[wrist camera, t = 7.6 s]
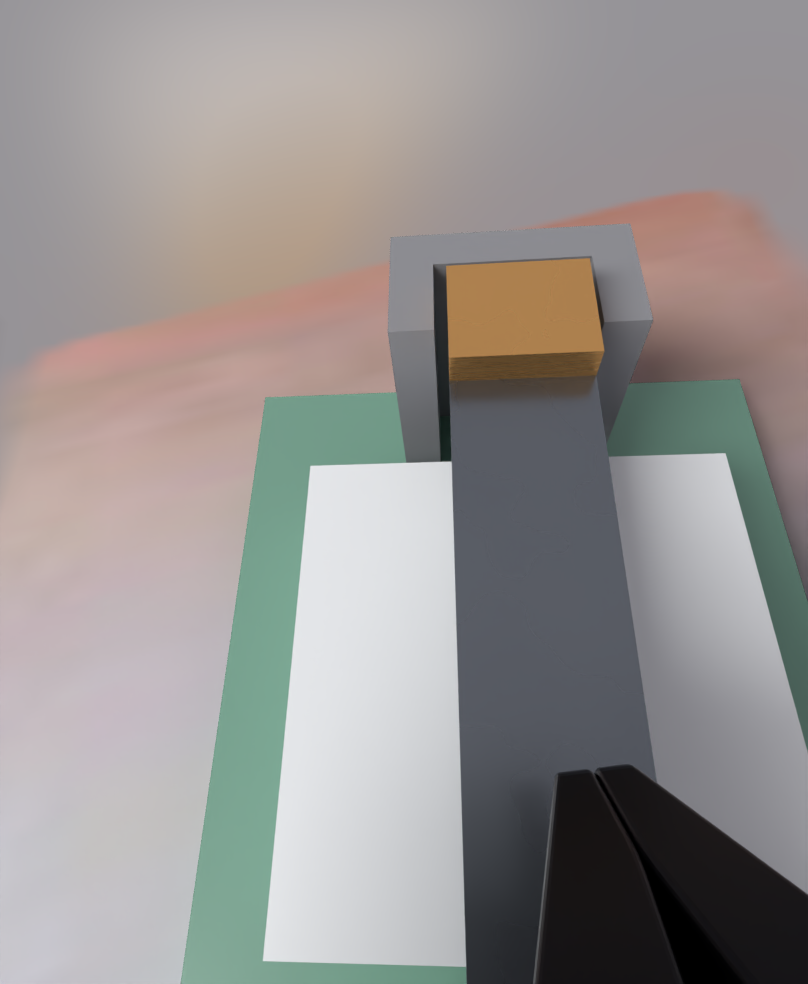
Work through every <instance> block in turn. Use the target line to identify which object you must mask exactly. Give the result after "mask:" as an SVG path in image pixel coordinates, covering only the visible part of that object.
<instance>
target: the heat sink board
mask: <svg viewBox="0 0 808 984" xmlns="http://www.w3.org/2000/svg"><path fill="white" fill-rule="evenodd" d="M583 258H590V263H591V269H592V275H593V282H594V288H595V294H596V300H597V307H598V313H599V319H600V326H601V332H602V338H603V344H604V354H603V357H602V360H601V363H600V366H599V369H598V372H597V375H596V376H597V383H598V390H599V397H600V403H601V410H602V417H603V423H604V430H605V437H606V444H607V450H608V457H609V464H610V470H611V477H612V484H613V491H614V497H615V504H616V511H617V517H618V524H619V531H620V538H621V544H622V551H623V558H624V564H625V571H626V578H627V585H628V591H629V598H630V605H631V611H632V618H633V625H634V632H635V638H636V645H637V652H638V658H639V665H640V672H641V678H642V685H643V692H644V699H645V705H646V712H647V719H648V725H649V732H650V739H651V746H652V752H653V759H654V766H655V772H656V779H657V783H658V784H659V785H661V786H662V787H663V788H665V789H666V790H667V791H669V792H670V793H672V794H673V795H674V796H676V797H677V798H678V799H680V800H681V801H682V802H684V803H685V804H686V805H688V806H689V807H690V808H692V809H693V810H695V811H696V812H697V813H699V814H700V815H701V816H703V817H704V818H705V819H707V820H708V821H709V822H711V823H712V824H713V825H715V826H716V827H718V828H719V829H720V830H722V831H723V832H724V833H726V834H727V835H728V836H730V837H731V838H732V839H734V840H735V841H736V842H738V843H739V844H741V845H742V846H743V847H745V848H746V849H747V850H749V851H750V852H751V853H753V854H754V855H755V856H757V857H758V858H759V859H761V860H762V861H764V862H765V863H766V864H768V865H769V866H770V867H772V868H773V869H774V870H776V871H777V872H778V873H780V874H781V875H782V876H784V877H785V878H787V879H788V880H789V881H791V882H792V883H793V884H795V885H796V886H797V887H799V888H800V889H801V890H803V891H804V892H805V893H807V894H808V601H807V598H806V594H805V591H804V588H803V585H802V581H801V578H800V575H799V572H798V568H797V565H796V562H795V559H794V555H793V552H792V549H791V546H790V542H789V539H788V536H787V533H786V529H785V526H784V523H783V520H782V516H781V513H780V510H779V507H778V503H777V500H776V497H775V494H774V490H773V487H772V484H771V481H770V477H769V474H768V471H767V468H766V464H765V461H764V458H763V455H762V451H761V448H760V445H759V442H758V438H757V435H756V432H755V429H754V425H753V422H752V419H751V415H750V412H749V409H748V406H747V402H746V399H745V396H744V393H743V389H742V386H741V383H740V380H739V379H732V380H706V381H680V382H654V383H630V380H631V378H632V375H633V372H634V370H635V367H636V364H637V362H638V359H639V356H640V354H641V351H642V348H643V346H644V343H645V340H646V338H647V335H648V332H649V330H650V327H651V324H652V322H653V317H652V313H651V308H650V304H649V300H648V296H647V292H646V288H645V283H644V279H643V275H642V271H641V267H640V262H639V258H638V254H637V250H636V246H635V241H634V237H633V233H632V229H631V225H630V224H614V225H596V226H578V227H561V228H543V229H525V230H508V231H490V232H473V233H455V234H438V235H421V236H404V237H403V236H402V237H391V245H390V276H389V308H388V337H389V344H390V351H391V358H392V365H393V372H394V379H395V386H396V393H370V394H344V395H318V396H292V397H266V398H265V405H264V412H263V419H262V425H261V432H260V439H259V446H258V453H257V460H256V467H255V474H254V481H253V488H252V494H251V501H250V508H249V515H248V522H247V529H246V536H245V543H244V550H243V557H242V563H241V570H240V577H239V584H238V591H237V598H236V605H235V612H234V619H233V626H232V632H231V639H230V646H229V653H228V660H227V667H226V674H225V681H224V688H223V695H222V702H221V708H220V715H219V722H218V729H217V736H216V743H215V750H214V757H213V764H212V771H211V777H210V784H209V791H208V798H207V805H206V812H205V819H204V826H203V833H202V840H201V846H200V853H199V860H198V867H197V874H196V881H195V888H194V895H193V902H192V909H191V915H190V922H189V929H188V936H187V943H186V950H185V957H184V964H183V971H182V978H181V984H466V949H465V915H464V880H463V845H462V810H461V775H460V740H459V705H458V670H457V635H456V600H455V565H454V530H453V496H452V461H451V426H450V391H449V356H448V321H447V277H446V266H452V265H470V264H489V263H508V262H527V261H546V260H565V259H583Z"/></svg>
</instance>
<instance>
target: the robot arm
mask: <svg viewBox="0 0 808 984" xmlns="http://www.w3.org/2000/svg"><path fill="white" fill-rule="evenodd" d="M533 984H808V894H807V893H805V892H804V891H803V890H801V889H800V888H799V887H797V886H796V885H795V884H793V883H792V882H791V881H789V880H788V879H787V878H785V877H784V876H782V875H781V874H780V873H778V872H777V871H776V870H774V869H773V868H772V867H770V866H769V865H768V864H766V863H765V862H764V861H762V860H761V859H759V858H758V857H757V856H755V855H754V854H753V853H751V852H750V851H749V850H747V849H746V848H745V847H743V846H742V845H741V844H739V843H738V842H736V841H735V840H734V839H732V838H731V837H730V836H728V835H727V834H726V833H724V832H723V831H722V830H720V829H719V828H718V827H716V826H715V825H713V824H712V823H711V822H709V821H708V820H707V819H705V818H704V817H703V816H701V815H700V814H699V813H697V812H696V811H695V810H693V809H692V808H690V807H689V806H688V805H686V804H685V803H684V802H682V801H681V800H680V799H678V798H677V797H676V796H674V795H673V794H672V793H670V792H669V791H667V790H666V789H665V788H663V787H662V786H661V785H659V784H658V783H657V782H655V781H654V780H653V779H651V778H650V777H649V776H647V775H646V774H644V773H643V772H642V771H640V770H639V769H638V768H636V767H635V766H632V765H630V764H622V765H614V766H606V767H599V768H597V769H596V770H595V771H594V773H593V772H592V771H590V770H588V769H582V770H574V771H566V772H559V773H557V774H556V775H555V777H554V785H553V795H552V804H551V814H550V824H549V834H548V843H547V853H546V863H545V873H544V882H543V892H542V902H541V912H540V921H539V931H538V941H537V951H536V960H535V970H534V980H533Z"/></svg>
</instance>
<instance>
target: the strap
mask: <svg viewBox="0 0 808 984" xmlns="http://www.w3.org/2000/svg"><path fill="white" fill-rule="evenodd" d="M446 277H447V321H448V356H449V391H450V426H451V461H452V496H453V530H454V565H455V600H456V635H457V670H458V705H459V740H460V775H461V810H462V845H463V880H464V915H465V949H466V984H533V980H534V970H535V960H536V951H537V941H538V931H539V921H540V912H541V902H542V892H543V882H544V873H545V863H546V853H547V843H548V834H549V824H550V814H551V804H552V795H553V785H554V777H555V775H556V774H557V773H559V772H566V771H574V770H582V769H588V770H590V771H592V772H593V773H594V771H595V770H596V769H597V768H599V767H606V766H614V765H622V764H630V765H632V766H635V767H636V768H638V769H639V770H640V771H642V772H643V773H644V774H646V775H647V776H649V777H650V778H651V779H653V780H654V781H655V782H657V779H656V772H655V766H654V759H653V752H652V746H651V739H650V732H649V725H648V719H647V712H646V705H645V699H644V692H643V685H642V678H641V672H640V665H639V658H638V652H637V645H636V638H635V632H634V625H633V618H632V611H631V605H630V598H629V591H628V585H627V578H626V571H625V564H624V558H623V551H622V544H621V538H620V531H619V524H618V517H617V511H616V504H615V497H614V491H613V484H612V477H611V470H610V464H609V457H608V450H607V444H606V437H605V430H604V423H603V417H602V410H601V403H600V397H599V390H598V383H597V376H596V375H597V372H598V369H599V366H600V363H601V360H602V357H603V354H604V344H603V338H602V332H601V326H600V319H599V313H598V307H597V300H596V294H595V288H594V282H593V275H592V269H591V263H590V258H583V259H565V260H546V261H527V262H508V263H489V264H470V265H452V266H446Z"/></svg>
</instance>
